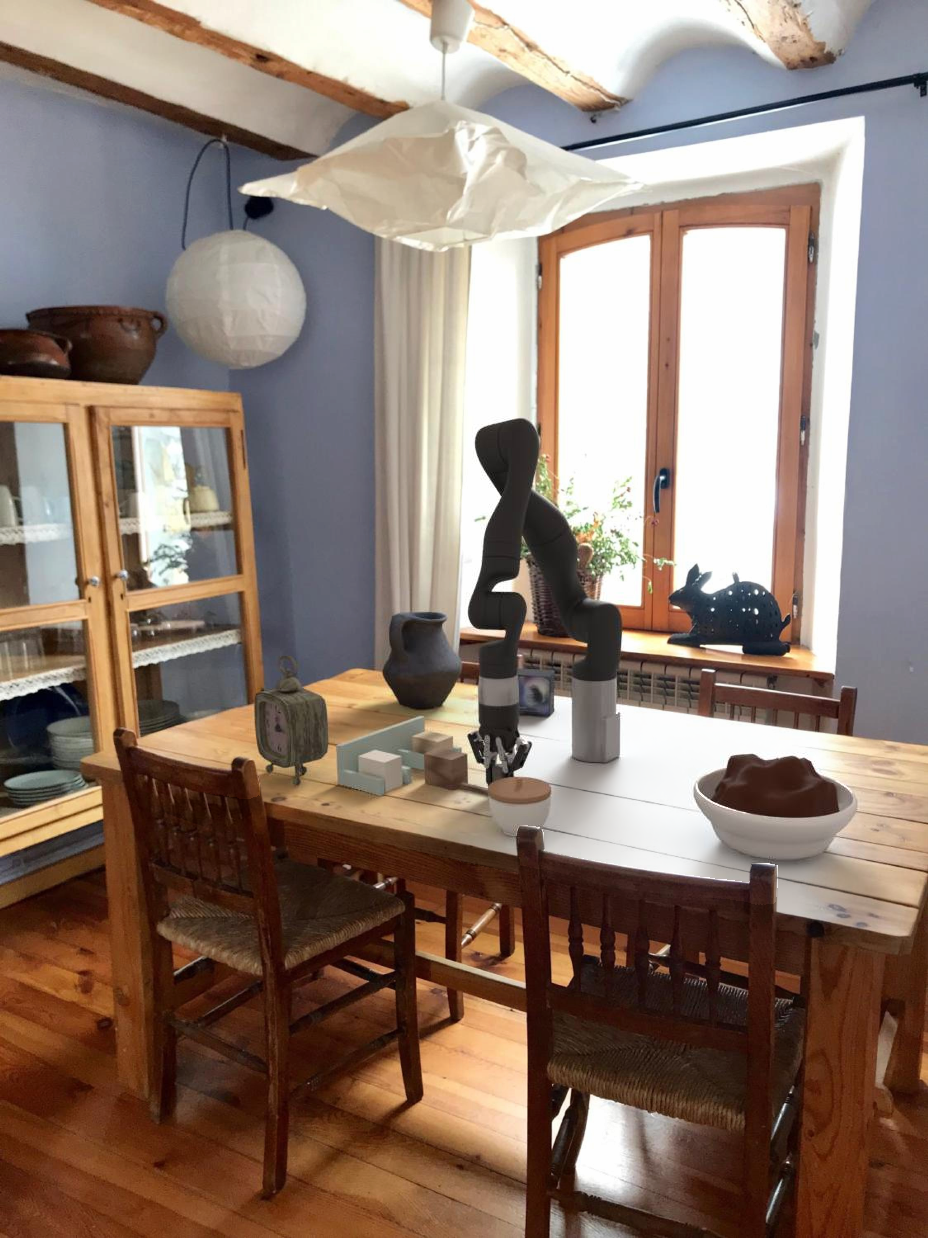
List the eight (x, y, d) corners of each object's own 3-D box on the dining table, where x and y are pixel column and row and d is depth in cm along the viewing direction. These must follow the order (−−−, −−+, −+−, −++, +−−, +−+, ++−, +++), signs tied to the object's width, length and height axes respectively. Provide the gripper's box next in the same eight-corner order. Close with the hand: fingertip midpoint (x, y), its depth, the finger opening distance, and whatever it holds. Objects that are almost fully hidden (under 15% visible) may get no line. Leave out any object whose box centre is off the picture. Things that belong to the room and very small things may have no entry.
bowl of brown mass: (790, 896, 138) (794, 796, 135) (660, 841, 158) (661, 753, 155) (886, 851, 152) (892, 760, 150) (756, 806, 172) (758, 725, 170)
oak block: (453, 764, 199) (452, 736, 198) (438, 770, 196) (438, 742, 195) (427, 758, 204) (426, 730, 203) (412, 764, 200) (412, 736, 199)
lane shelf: (461, 761, 201) (461, 724, 199) (379, 796, 181) (378, 755, 180) (421, 751, 208) (420, 716, 206) (337, 784, 188) (336, 745, 187)
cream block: (402, 785, 187) (401, 756, 186) (385, 792, 183) (384, 762, 182) (376, 778, 191) (375, 750, 190) (359, 785, 188) (358, 756, 187)
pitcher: (478, 700, 249) (476, 606, 245) (431, 721, 231) (428, 619, 227) (413, 691, 260) (410, 600, 256) (363, 710, 242) (360, 613, 238)
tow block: (513, 794, 181) (513, 764, 180) (498, 802, 177) (498, 771, 176) (440, 776, 192) (439, 747, 191) (424, 783, 188) (423, 753, 187)
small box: (507, 715, 235) (506, 673, 233) (513, 708, 241) (513, 667, 240) (549, 717, 232) (549, 675, 230) (555, 710, 238) (555, 669, 237)
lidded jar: (513, 814, 171) (512, 763, 169) (563, 828, 164) (563, 775, 163) (475, 832, 163) (474, 780, 161) (526, 848, 156) (526, 793, 155)
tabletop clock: (257, 772, 196) (250, 653, 192) (296, 762, 202) (290, 646, 198) (293, 790, 185) (286, 664, 181) (333, 779, 191) (327, 657, 187)
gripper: (541, 700, 175) (542, 790, 178) (480, 689, 183) (481, 775, 186) (518, 709, 169) (519, 802, 172) (456, 697, 178) (457, 786, 181)
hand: (499, 788), depth 179 cm, fingers closed on tow block, 3 cm apart
